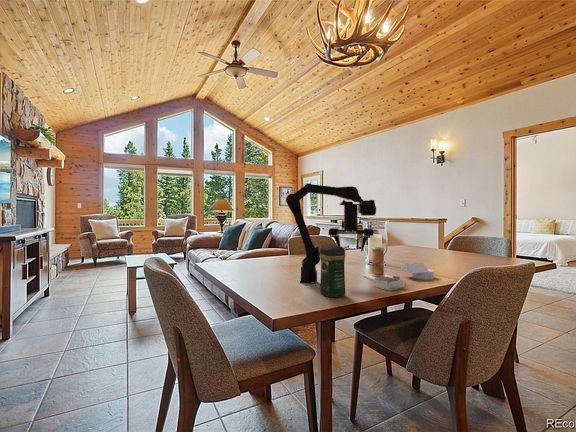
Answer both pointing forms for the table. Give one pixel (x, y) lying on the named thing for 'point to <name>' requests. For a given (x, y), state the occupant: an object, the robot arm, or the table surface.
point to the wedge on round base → (419, 271)
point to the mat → (372, 276)
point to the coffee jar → (332, 270)
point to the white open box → (388, 283)
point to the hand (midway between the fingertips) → (350, 251)
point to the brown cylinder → (378, 262)
